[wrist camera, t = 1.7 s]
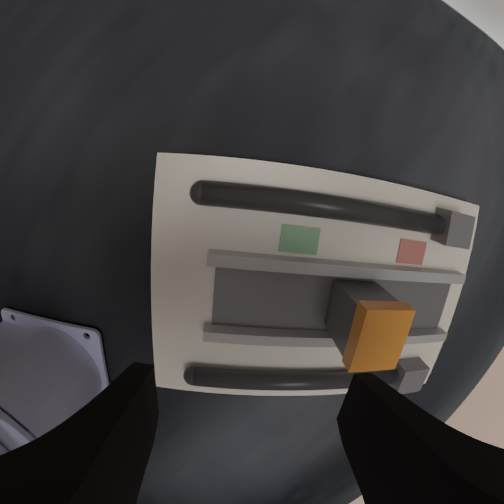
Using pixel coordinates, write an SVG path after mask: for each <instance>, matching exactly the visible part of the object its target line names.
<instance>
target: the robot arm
mask: <svg viewBox="0 0 504 504" xmlns="http://www.w3.org/2000/svg"><path fill="white" fill-rule="evenodd" d="M1 316H2V320H3V321H2V322H1V323H0V504H136V502H137V497H138V494H139V490H140V487H141V483H142V480H143V476H144V473H145V470H146V466H147V463H148V459H149V456H150V453H151V449H152V446H153V443H154V438H155V433H156V427H157V421H158V415H159V410H158V401H157V392H156V381H155V370H154V365H151V364H144V363H138V362H134V363H132V364H131V365H130V366H129V367H128V368H127V369H125V370H124V371H123V372H122V373H121V374H120V375H119V376H118V377H117V378H116V379H115V380H114V381H113V382H111V383H109V379H108V373H107V368H106V362H105V357H104V351H103V344H102V337H101V334H100V332H99V331H98V330H97V329H94V328H89V327H84V326H79V325H75V324H70V323H65V322H61V321H56V320H52V319H48V318H43V317H39V316H35V315H31V314H27V313H24V312H20V311H16V310H12V309H9V308H3V309H2V310H1ZM86 333H88V334H89V336H90V337H89V336H87V335H86ZM337 422H338V427H339V432H340V436H341V440H342V444H343V447H344V450H345V452H346V455H347V457H348V460H349V463H350V465H351V468H352V470H353V473H354V475H355V478H356V480H357V483H358V486H359V488H360V491H361V493H362V496H363V499H364V502H365V504H504V449H502V448H499V447H496V446H493V445H490V444H487V443H484V442H481V441H479V440H477V439H474V438H472V437H470V436H468V435H465V434H464V433H462V432H460V431H458V430H456V429H454V428H452V427H450V426H448V425H446V424H445V423H443V422H442V421H440V420H439V419H437V418H435V417H434V416H432V415H431V414H429V413H427V412H426V411H424V410H423V409H422V408H420V407H419V406H417V405H416V404H414V403H413V402H412V401H410V400H409V399H407V398H406V397H405V396H403V395H402V394H401V393H399V392H398V391H396V390H395V389H394V388H392V387H391V386H390V385H388V384H387V383H386V382H384V381H383V380H381V379H380V378H378V377H377V376H375V375H374V374H372V373H371V372H370V373H356V374H354V375H353V377H352V380H351V383H350V386H349V388H348V391H347V394H346V396H345V399H344V402H343V404H342V407H341V409H340V412H339V414H338V416H337Z"/></svg>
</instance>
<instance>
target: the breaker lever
mask: <svg viewBox="0 0 504 504" xmlns="http://www.w3.org/2000/svg"><path fill="white" fill-rule="evenodd" d="M415 312H416V310H415V309H414V308H412V307H411V306H410V305H409V304H408V303H406V302H401V301H398V300H397V299H396V298H395V297H394V296H392V295H391V294H390V293H389V292H388V291H386V290H385V289H384V288H383V287H381V286H380V285H379V284H378V283H377V282H363V281H347V280H335V281H334V286H333V291H332V296H331V301H330V305H329V310H328V314H327V319H326V323H325V327H326V329H327V331H328V332H329V334H330V336H331V338H332V339H333V341H334V343H335V345H336V346H337V348H338V350H339V352H340V353H341V355H342V357H343V358H342V362H343V364H344V366H345V367H346V369H347V371H348V373H351V372H367V371H380V370H391V369H395V368H396V365H397V363H398V360H399V358H400V355H401V352H402V350H403V347H404V344H405V342H406V339H407V336H408V333H409V330H410V327H411V324H412V321H413V318H414V315H415Z"/></svg>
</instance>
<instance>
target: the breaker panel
mask: <svg viewBox="0 0 504 504" xmlns="http://www.w3.org/2000/svg"><path fill="white" fill-rule="evenodd" d="M478 212H479V206H478V205H475V204H471V203H468V202H465V201H461V200H458V199H454V198H451V197H447V196H444V195H440V194H436V193H432V192H429V191H425V190H421V189H417V188H413V187H409V186H404V185H400V184H396V183H391V182H387V181H382V180H377V179H373V178H368V177H363V176H358V175H352V174H347V173H342V172H336V171H330V170H324V169H318V168H312V167H306V166H299V165H292V164H285V163H277V162H269V161H261V160H252V159H242V158H232V157H221V156H209V155H195V154H178V153H157V161H156V172H155V184H154V198H153V215H152V240H151V312H152V337H153V354H154V368H155V380H156V386H157V387H164V388H171V389H179V390H188V391H197V392H208V393H221V394H236V395H261V396H306V395H331V394H346V393H347V391H348V388H349V386H350V383H351V380H352V377H353V375H354V374H356V373H370V372H371V373H372V374H374V375H375V376H377V377H378V378H380V379H381V380H383V381H384V382H386V383H387V384H388V385H390V386H391V387H392V388H394V389H395V390H396V391H398V392H399V393H401V394H405V393H411V392H417V391H420V389H421V387H422V385H423V384H425V383H426V381H427V379H428V377H429V375H430V373H431V370H432V368H433V366H434V364H435V361H436V359H437V357H438V354H439V352H440V349H441V347H442V344H443V342H444V341H445V339H446V337H447V334H448V333H447V331H448V329H449V326H450V323H451V320H452V317H453V314H454V311H455V308H456V305H457V302H458V299H459V296H460V292H461V289H462V285H463V284H464V282H465V278H466V275H465V274H466V271H467V267H468V263H469V258H470V254H471V250H472V245H473V240H474V235H475V230H476V224H477V218H478ZM335 280H347V281H363V282H377V283H378V284H379V285H380V286H381V287H383V288H384V289H385V290H386V291H388V292H389V293H390V294H391V295H392V296H394V297H395V298H396V299H397V300H398V301H401V302H406V303H408V304H409V305H410V306H411V307H412V308H414V309H415V310H416V312H415V315H414V318H413V321H412V324H411V327H410V330H409V333H408V336H407V339H406V342H405V344H404V347H403V350H402V352H401V355H400V358H399V360H398V363H397V365H396V368H395V369H391V370H380V371H367V372H351V373H348V371H347V369H346V367H345V366H344V364H343V362H342V358H343V357H342V355H341V353H340V352H339V350H338V348H337V346H336V345H335V343H334V341H333V339H332V338H331V336H330V334H329V332H328V331H327V329H326V327H325V323H326V319H327V314H328V310H329V305H330V301H331V296H332V291H333V286H334V281H335Z"/></svg>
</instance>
